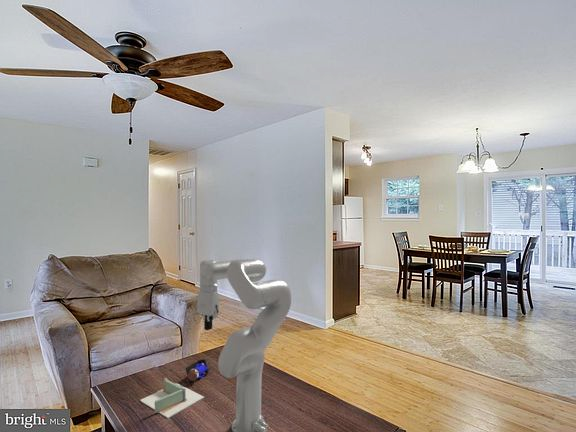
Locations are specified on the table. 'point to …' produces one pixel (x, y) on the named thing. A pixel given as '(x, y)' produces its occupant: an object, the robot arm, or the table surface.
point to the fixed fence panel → (170, 386)
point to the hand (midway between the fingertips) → (208, 329)
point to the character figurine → (197, 370)
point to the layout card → (174, 409)
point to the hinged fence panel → (170, 400)
